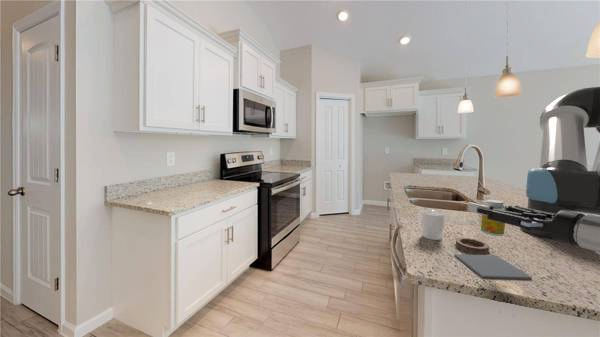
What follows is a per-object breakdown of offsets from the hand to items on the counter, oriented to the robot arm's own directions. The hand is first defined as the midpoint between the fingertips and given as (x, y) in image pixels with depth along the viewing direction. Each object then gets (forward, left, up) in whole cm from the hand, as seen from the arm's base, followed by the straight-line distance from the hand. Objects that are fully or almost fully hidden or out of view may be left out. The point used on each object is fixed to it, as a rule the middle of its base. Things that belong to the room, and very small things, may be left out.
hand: (475, 205), depth 75 cm
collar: (-5, -8, -18) cm, 20 cm away
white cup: (+4, -18, -18) cm, 26 cm away
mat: (-2, +5, -18) cm, 18 cm away
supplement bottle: (-2, +5, -7) cm, 9 cm away
